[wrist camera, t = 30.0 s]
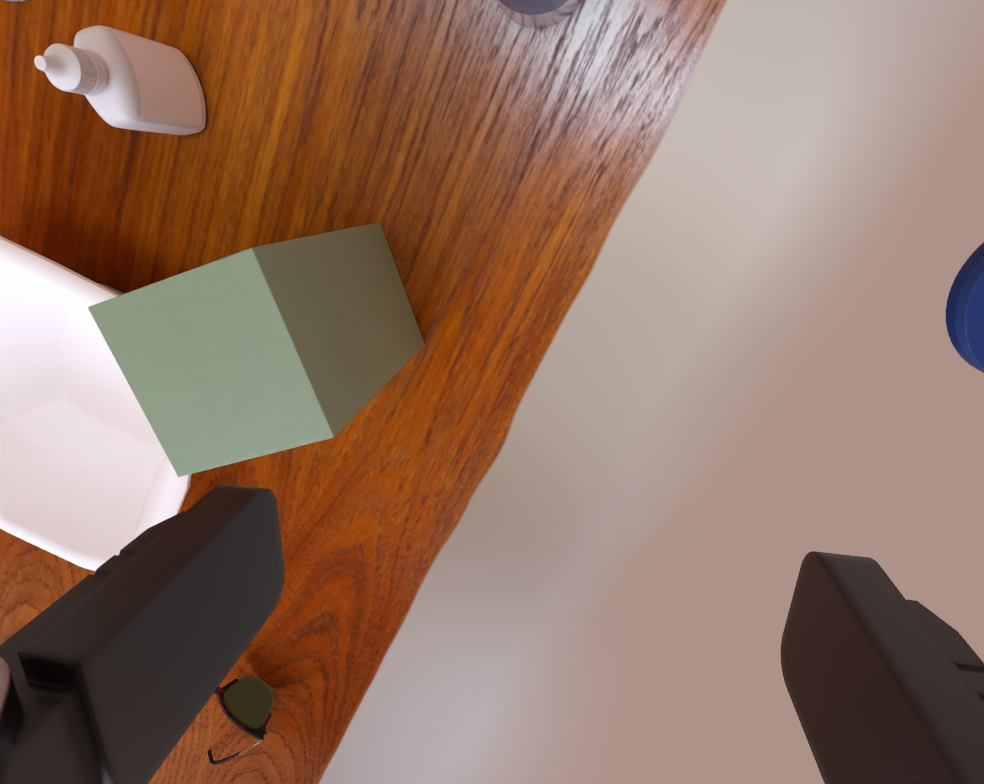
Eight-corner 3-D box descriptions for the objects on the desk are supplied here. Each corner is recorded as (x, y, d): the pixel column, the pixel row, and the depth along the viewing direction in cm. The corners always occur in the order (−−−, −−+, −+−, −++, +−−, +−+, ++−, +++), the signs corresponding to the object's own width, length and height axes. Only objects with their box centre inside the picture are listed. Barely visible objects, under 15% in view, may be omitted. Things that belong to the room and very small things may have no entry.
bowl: (225, 533, 56) (151, 604, 47) (-9, 419, 56) (-131, 468, 46) (297, 316, 47) (224, 350, 38) (18, 177, 47) (-127, 177, 37)
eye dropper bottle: (216, 62, 41) (79, 18, 30) (205, 143, 43) (74, 130, 32) (160, 42, 41) (3, -9, 30) (152, 123, 44) (3, 103, 32)
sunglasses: (288, 701, 63) (262, 744, 58) (225, 748, 69) (198, 791, 65) (184, 618, 61) (149, 656, 57) (129, 675, 67) (94, 713, 63)
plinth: (380, 221, 43) (251, 247, 27) (425, 344, 46) (334, 437, 30) (268, 261, 46) (86, 307, 29) (317, 375, 49) (178, 477, 32)
